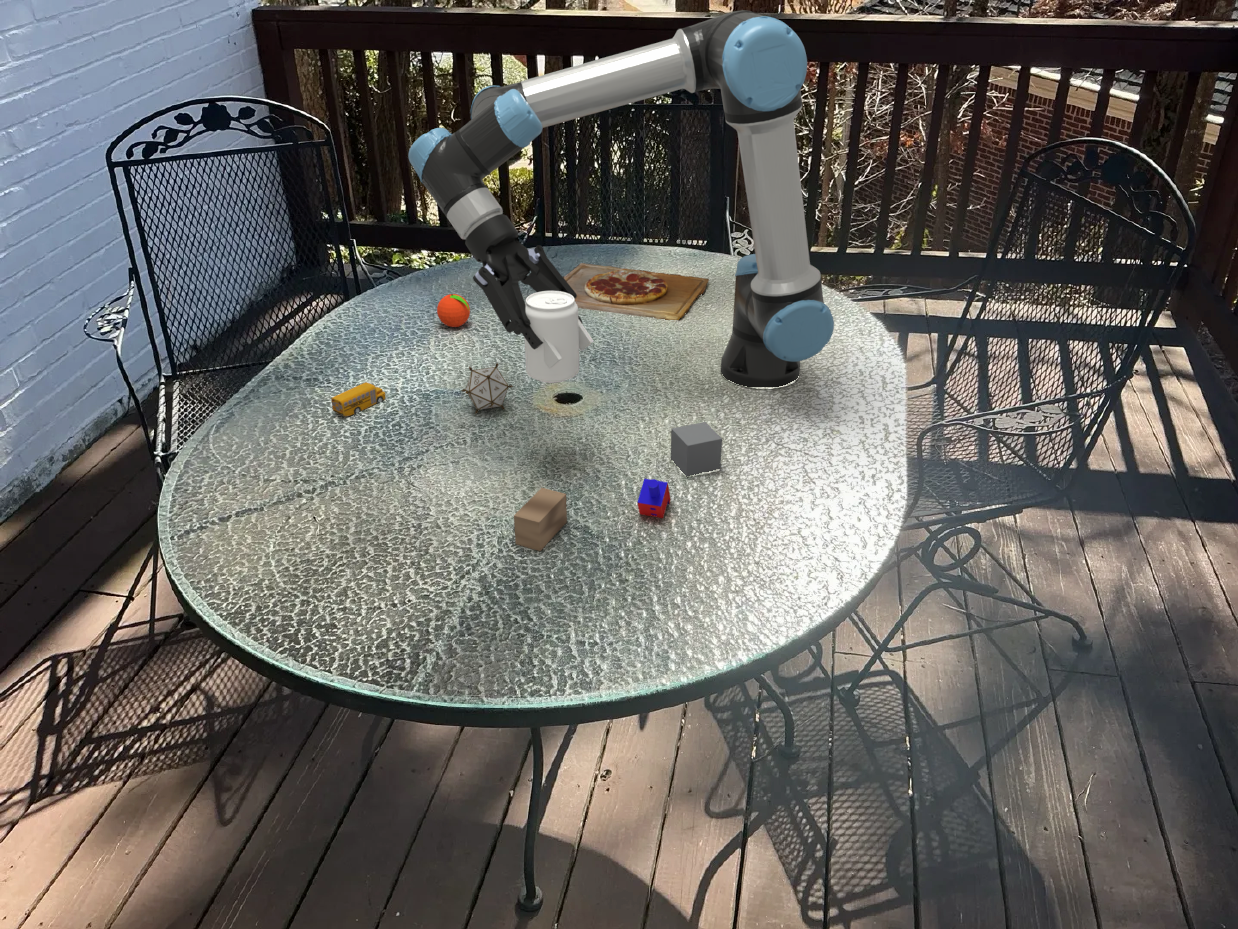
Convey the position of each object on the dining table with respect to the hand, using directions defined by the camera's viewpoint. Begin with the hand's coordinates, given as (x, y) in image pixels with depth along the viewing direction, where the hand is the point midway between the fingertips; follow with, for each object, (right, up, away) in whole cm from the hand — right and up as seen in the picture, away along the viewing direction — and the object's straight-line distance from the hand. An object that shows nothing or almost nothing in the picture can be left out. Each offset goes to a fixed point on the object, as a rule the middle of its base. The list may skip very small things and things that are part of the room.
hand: (571, 354), depth 140 cm
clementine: (-28, +13, +61) cm, 68 cm away
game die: (-16, -7, +29) cm, 34 cm away
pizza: (+9, +23, +78) cm, 82 cm away
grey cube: (+19, -17, +12) cm, 28 cm away
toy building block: (+12, -24, 0) cm, 27 cm away
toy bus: (-39, -6, +29) cm, 49 cm away
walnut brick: (-4, -26, -5) cm, 27 cm away
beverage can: (-3, -3, +4) cm, 5 cm away
